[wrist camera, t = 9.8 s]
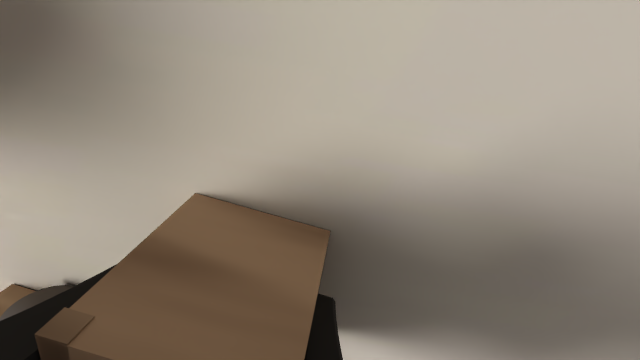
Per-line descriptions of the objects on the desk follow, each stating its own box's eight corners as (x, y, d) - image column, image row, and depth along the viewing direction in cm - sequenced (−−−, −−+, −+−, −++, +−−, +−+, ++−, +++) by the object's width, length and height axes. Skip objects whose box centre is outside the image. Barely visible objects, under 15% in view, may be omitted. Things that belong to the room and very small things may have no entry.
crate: (302, 327, 12) (257, 524, 7) (187, 293, 12) (67, 464, 8) (332, 230, 10) (296, 413, 5) (194, 191, 10) (34, 334, 5)
